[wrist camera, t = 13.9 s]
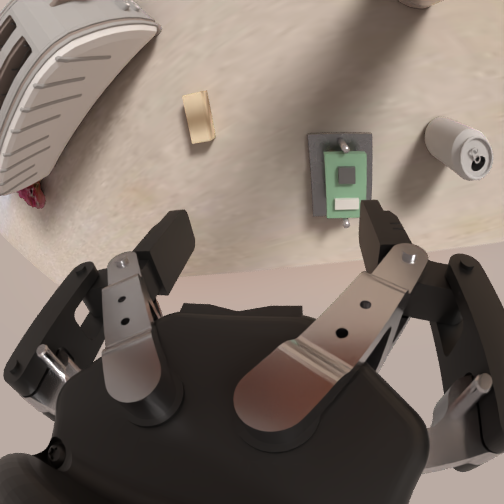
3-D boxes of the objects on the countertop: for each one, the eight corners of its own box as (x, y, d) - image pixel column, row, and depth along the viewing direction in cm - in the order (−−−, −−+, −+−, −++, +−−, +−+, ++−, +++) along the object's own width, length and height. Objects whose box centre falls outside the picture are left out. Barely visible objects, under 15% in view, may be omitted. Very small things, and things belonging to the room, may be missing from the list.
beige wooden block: (189, 94, 38) (182, 95, 35) (206, 90, 37) (200, 91, 35) (198, 139, 42) (192, 143, 40) (215, 136, 41) (210, 140, 39)
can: (434, 166, 37) (468, 195, 27) (414, 129, 34) (448, 148, 25) (464, 145, 33) (503, 169, 23) (445, 108, 31) (486, 121, 21)
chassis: (307, 133, 39) (308, 142, 34) (370, 132, 37) (381, 141, 31) (313, 213, 46) (314, 233, 41) (369, 212, 44) (377, 231, 39)
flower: (49, 195, 58) (18, 204, 51) (46, 161, 53) (13, 169, 46) (54, 210, 52) (18, 221, 45) (50, 170, 47) (12, 181, 40)
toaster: (186, 20, 30) (96, -9, 12) (56, 174, 50) (-13, 223, 32) (125, -36, 22) (39, -60, 4) (18, 117, 42) (-50, 151, 24)
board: (323, 151, 36) (324, 155, 34) (364, 151, 35) (367, 155, 33) (326, 213, 42) (327, 220, 40) (363, 212, 40) (366, 219, 39)
